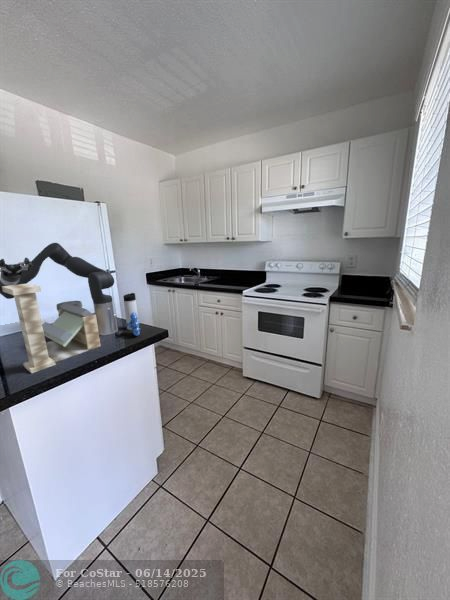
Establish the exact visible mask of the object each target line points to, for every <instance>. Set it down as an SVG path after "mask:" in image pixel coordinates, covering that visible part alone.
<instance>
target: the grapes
mask: <svg viewBox="0 0 450 600" xmlns="http://www.w3.org/2000/svg"><path fill="white" fill-rule="evenodd" d="M137 314H138V313H137ZM137 314H136V313H134V312H133V313H132V314H131V316H130V318H131V320H130V322H128V323H127V322H126V328H127V327H128V328H131V329H132V330H131V331H132V334H133V335H134V336H135V337H139V335H140V334H141V328H140V324H141V323H140V322H139V317H137ZM137 319H138V321H137ZM138 326H139V327H138Z"/></svg>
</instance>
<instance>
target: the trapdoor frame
mask: <svg viewBox="0 0 450 600" xmlns="http://www.w3.org/2000/svg"><path fill="white" fill-rule="evenodd" d="M63 312H65V311H64V310H62V309H60V310H59V313H60V315H61V314H62V313H63ZM59 313H58V314H59ZM82 319H83V327H82V328H81V329H80V330H79V331H78V332H77V334H76V335H75V336H74V337H73V338H72V339H71V341H70V342H69V343H68V344H67V345H66V346H65V347H64V346H63V345H61V344H59V343H57V342H55V341H53V340H51V341H47V342H46V346H47V351H48V355H49V358H51V359H53V360H54V361H55V363H56V362H60V361H63V360H65V359H69V358H71V357H74V356H78V355H79V354H82V353H85V352H89V351H91V350H94V349H97V348H99V347H102V345H101V340H100V339H101V338H100V335H99V332H98V325H97V319H96V315H95V314H93V315H91V316H87V317H82Z"/></svg>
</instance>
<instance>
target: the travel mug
mask: <svg viewBox="0 0 450 600" xmlns="http://www.w3.org/2000/svg"><path fill="white" fill-rule="evenodd" d="M122 297H123V305H124V314H125V320H126V324H127V323H128V322H130V320H131V318H130V316H131V314H132V313H133V312H134V313H136V314H137V317H138V315H139V314H138V306H137V298H136V293H135V292H131V293H127V294H124V295H123V296H122ZM137 321H138V322H139V317H138V319H137ZM138 327H139V328H140V325H139V326H138ZM126 330H128V331H133V330H132V329H131V328H128V327H127V326H126Z"/></svg>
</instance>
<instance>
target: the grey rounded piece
mask: <svg viewBox="0 0 450 600" xmlns="http://www.w3.org/2000/svg"><path fill="white" fill-rule="evenodd" d="M63 303H67V304H70V305H74V306H77V307H81V308H83V302H82V301H81V300H69V301H63V302H60V303H57V304H56V311H57V312H58V314H57V315H58V317H59V316H60V313H59V310H60V309H61V308H60V306H61V305H62V304H63Z"/></svg>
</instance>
